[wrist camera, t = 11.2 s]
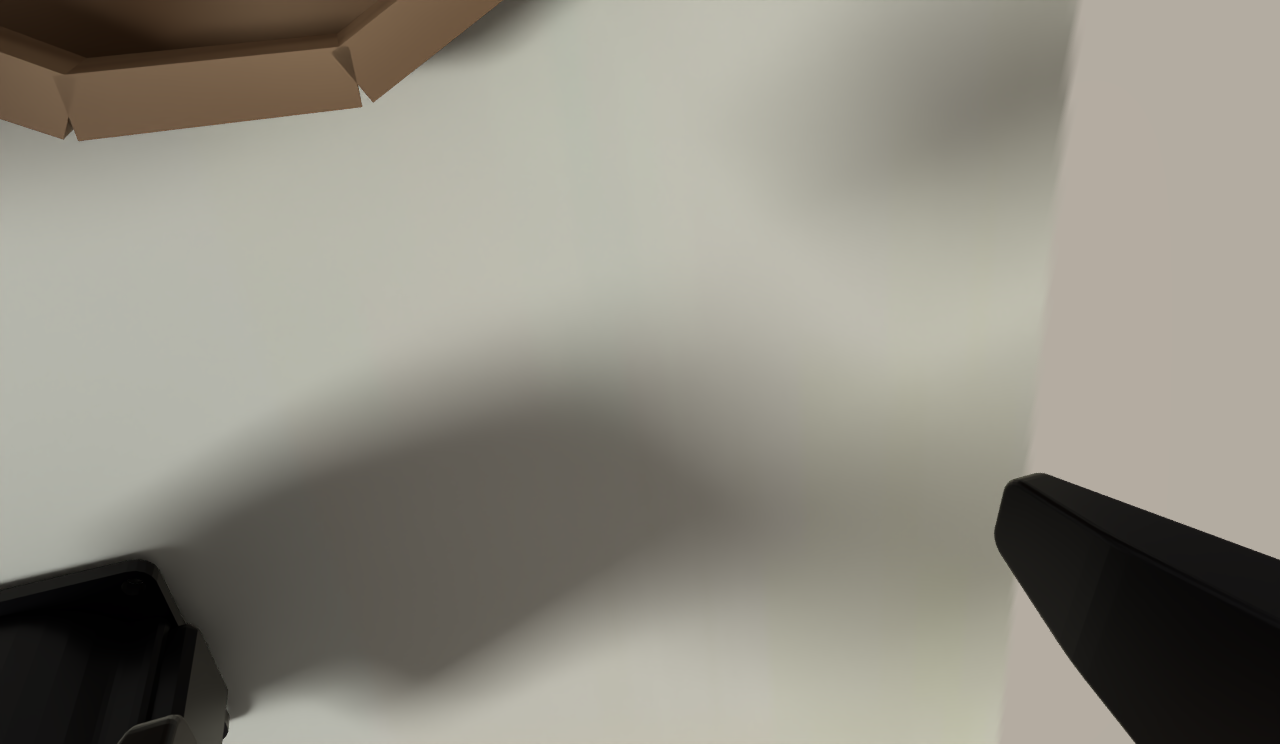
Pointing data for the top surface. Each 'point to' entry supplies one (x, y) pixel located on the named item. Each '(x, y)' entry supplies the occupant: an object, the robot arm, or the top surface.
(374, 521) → the top surface
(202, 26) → the tray
